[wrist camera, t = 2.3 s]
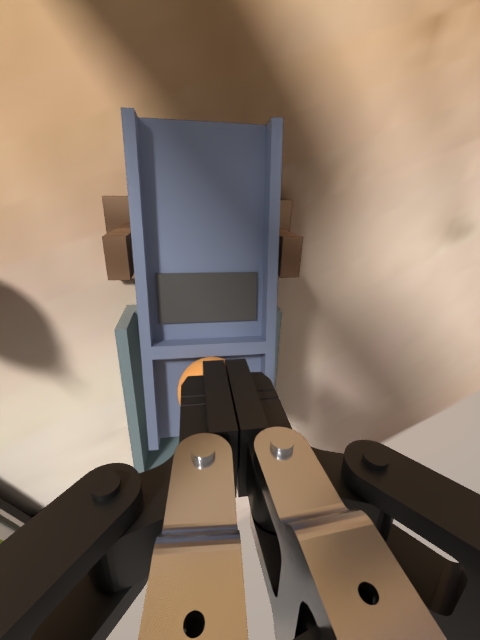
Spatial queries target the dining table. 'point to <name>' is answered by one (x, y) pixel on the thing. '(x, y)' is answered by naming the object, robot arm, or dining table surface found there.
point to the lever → (201, 249)
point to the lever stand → (122, 254)
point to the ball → (194, 371)
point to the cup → (134, 391)
